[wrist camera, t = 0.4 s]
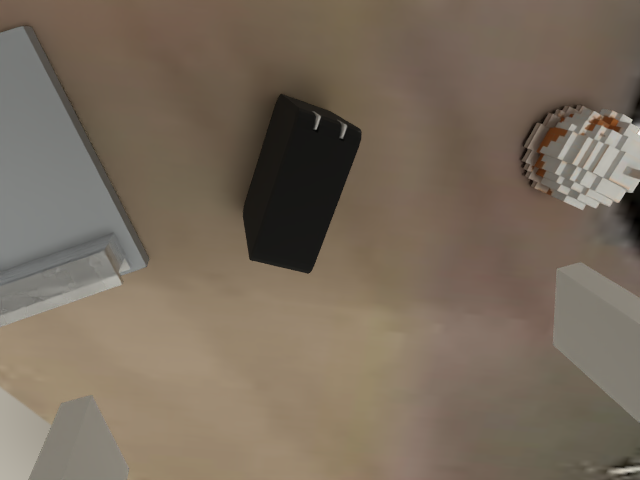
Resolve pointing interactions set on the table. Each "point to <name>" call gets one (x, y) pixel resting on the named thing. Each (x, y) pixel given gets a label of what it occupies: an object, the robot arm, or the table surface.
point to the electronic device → (297, 183)
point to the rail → (61, 278)
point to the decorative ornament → (584, 156)
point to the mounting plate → (49, 165)
